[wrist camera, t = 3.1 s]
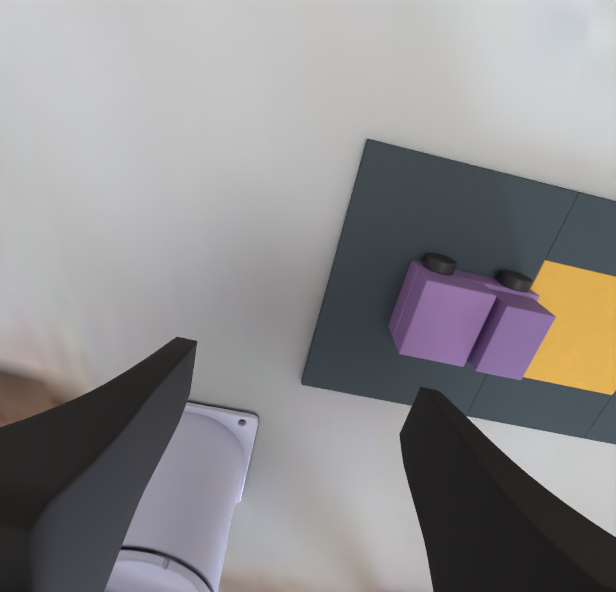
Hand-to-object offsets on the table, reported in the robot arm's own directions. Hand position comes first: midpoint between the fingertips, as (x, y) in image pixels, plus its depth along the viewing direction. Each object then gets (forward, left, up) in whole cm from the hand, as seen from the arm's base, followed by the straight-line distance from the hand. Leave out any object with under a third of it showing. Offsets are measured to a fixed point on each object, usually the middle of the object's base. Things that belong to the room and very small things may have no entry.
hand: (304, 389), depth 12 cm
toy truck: (+8, 0, -9) cm, 12 cm away
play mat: (+12, 0, -9) cm, 15 cm away
